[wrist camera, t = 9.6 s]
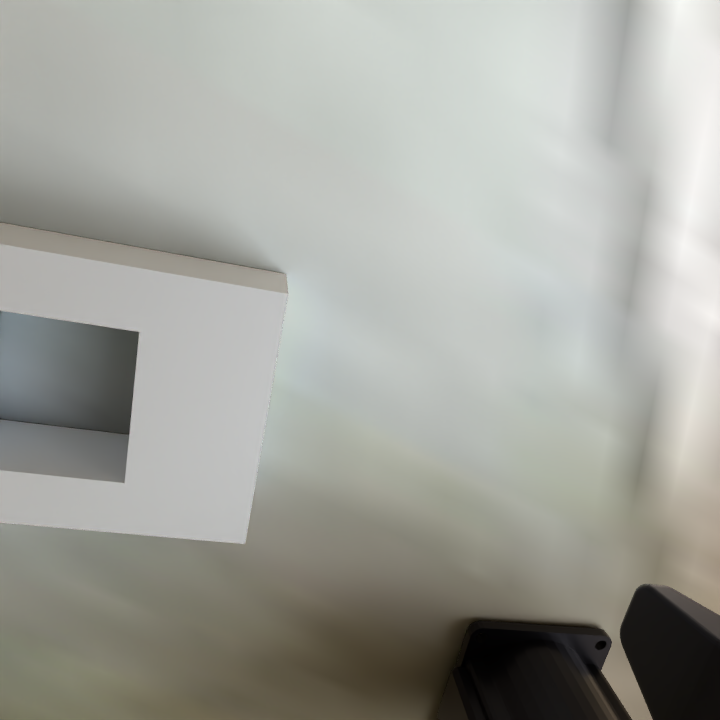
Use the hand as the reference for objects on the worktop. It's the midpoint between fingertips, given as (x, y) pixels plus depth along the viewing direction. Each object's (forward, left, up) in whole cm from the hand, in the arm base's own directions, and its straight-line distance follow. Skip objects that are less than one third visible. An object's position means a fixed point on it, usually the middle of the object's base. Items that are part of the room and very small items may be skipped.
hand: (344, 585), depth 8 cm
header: (+7, +2, -12) cm, 14 cm away
